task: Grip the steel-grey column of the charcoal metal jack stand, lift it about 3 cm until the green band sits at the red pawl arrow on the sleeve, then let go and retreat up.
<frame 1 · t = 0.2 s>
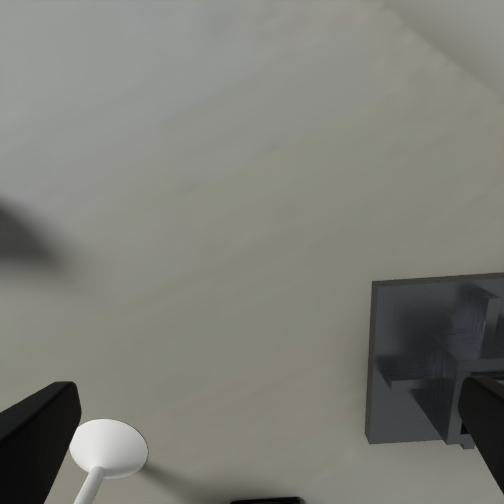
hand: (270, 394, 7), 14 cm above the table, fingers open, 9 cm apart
champagne flute: (109, 447, 26), on the table
jack base: (457, 358, 24), on the table
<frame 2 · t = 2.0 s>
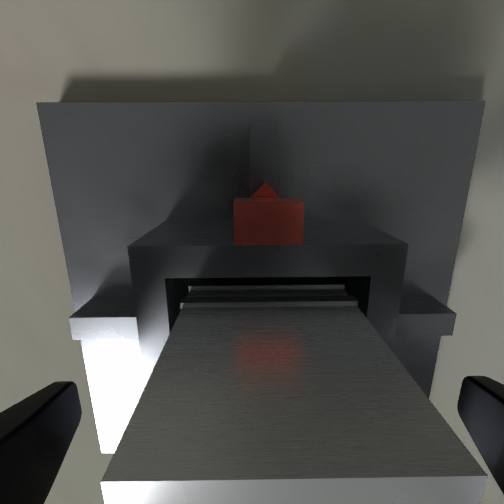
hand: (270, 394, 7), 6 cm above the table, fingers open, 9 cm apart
jack base: (260, 295, 12), on the table
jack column: (268, 381, 7), point 5 cm above the table, slide at 0.0 cm
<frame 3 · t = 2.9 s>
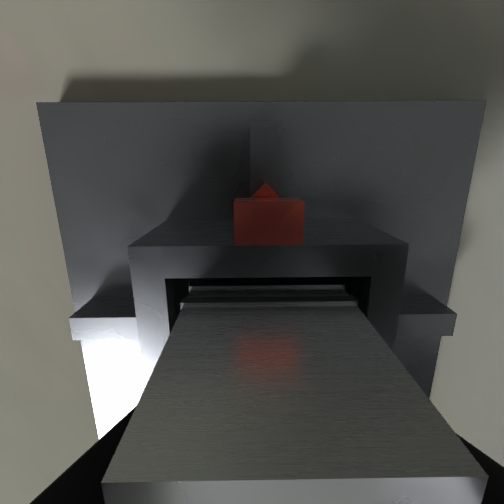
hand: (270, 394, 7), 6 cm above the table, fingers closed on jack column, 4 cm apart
jack base: (260, 295, 12), on the table
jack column: (269, 381, 7), point 5 cm above the table, slide at 0.0 cm, touching gripper
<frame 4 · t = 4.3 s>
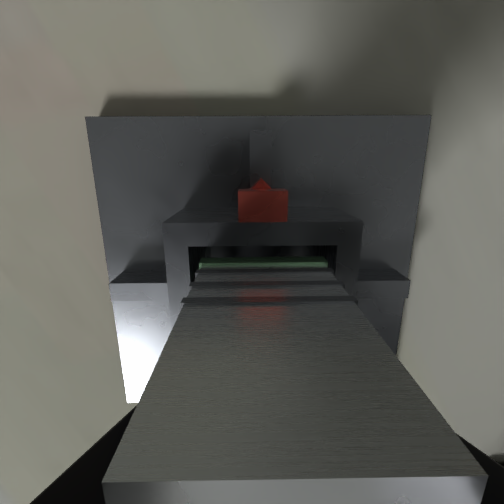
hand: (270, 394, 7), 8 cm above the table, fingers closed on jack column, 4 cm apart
jack base: (258, 270, 15), on the table
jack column: (269, 381, 7), point 8 cm above the table, slide at 2.9 cm, touching gripper
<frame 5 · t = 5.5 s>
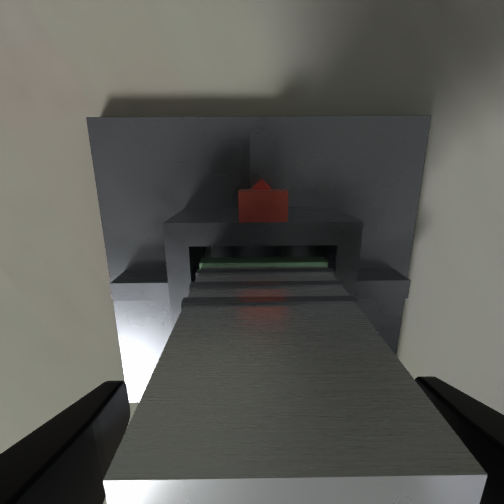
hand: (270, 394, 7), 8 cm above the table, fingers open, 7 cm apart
jack base: (258, 270, 15), on the table
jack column: (269, 381, 7), point 8 cm above the table, slide at 2.9 cm
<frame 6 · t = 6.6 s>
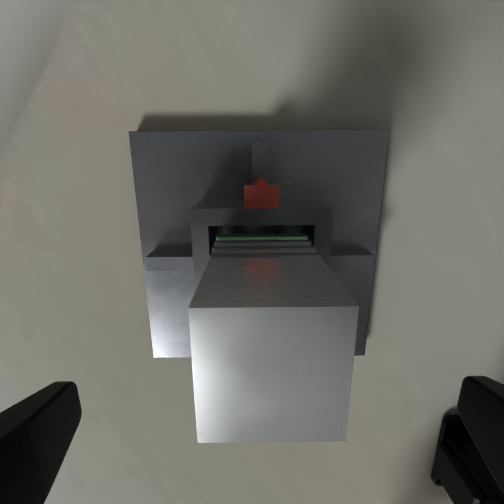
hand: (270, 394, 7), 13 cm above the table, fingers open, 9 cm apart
jack base: (258, 250, 19), on the table
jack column: (265, 308, 11), point 8 cm above the table, slide at 2.9 cm
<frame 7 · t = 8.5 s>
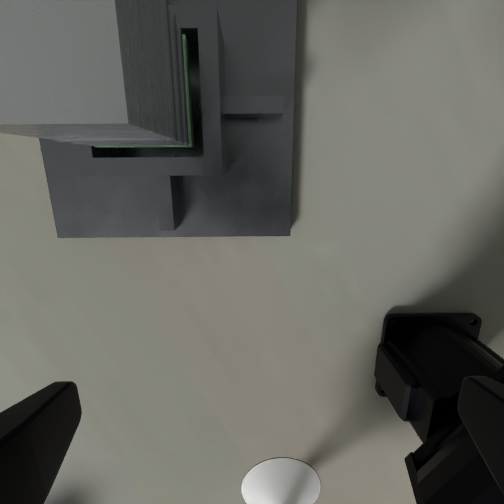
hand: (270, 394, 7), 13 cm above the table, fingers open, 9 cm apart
champagne flute: (280, 486, 26), on the table
jack base: (169, 113, 17), on the table
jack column: (104, 71, 10), point 8 cm above the table, slide at 2.9 cm
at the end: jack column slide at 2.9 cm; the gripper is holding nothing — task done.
